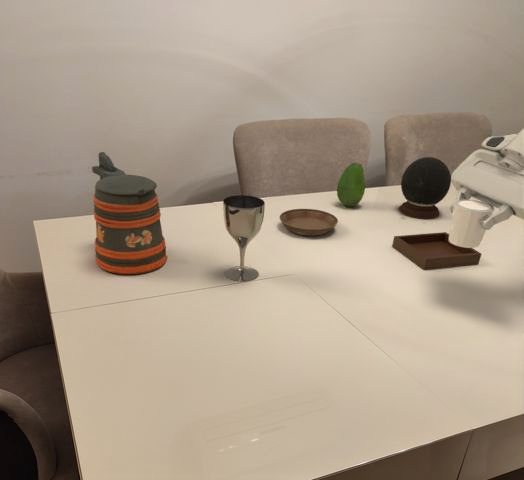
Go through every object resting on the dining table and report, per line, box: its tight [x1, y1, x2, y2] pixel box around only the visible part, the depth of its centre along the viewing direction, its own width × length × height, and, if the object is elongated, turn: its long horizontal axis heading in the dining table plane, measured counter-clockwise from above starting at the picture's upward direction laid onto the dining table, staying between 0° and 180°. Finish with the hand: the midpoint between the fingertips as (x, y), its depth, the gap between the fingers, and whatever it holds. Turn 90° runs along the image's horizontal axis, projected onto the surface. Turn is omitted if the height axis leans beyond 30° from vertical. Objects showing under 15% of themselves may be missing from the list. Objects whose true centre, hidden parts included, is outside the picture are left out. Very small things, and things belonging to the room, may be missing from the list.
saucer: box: [279, 208, 339, 237], centre depth 127 cm, size 15×15×3 cm
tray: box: [391, 231, 482, 271], centre depth 117 cm, size 15×14×3 cm
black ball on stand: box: [398, 156, 452, 220], centre depth 139 cm, size 13×13×15 cm
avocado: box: [336, 162, 366, 208], centre depth 142 cm, size 8×8×12 cm
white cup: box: [448, 199, 495, 249], centre depth 91 cm, size 7×7×7 cm
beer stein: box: [91, 151, 168, 275], centre depth 102 cm, size 19×15×20 cm
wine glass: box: [222, 194, 266, 282], centre depth 100 cm, size 8×8×15 cm
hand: (467, 219), depth 91 cm, fingers closed on white cup, 7 cm apart
